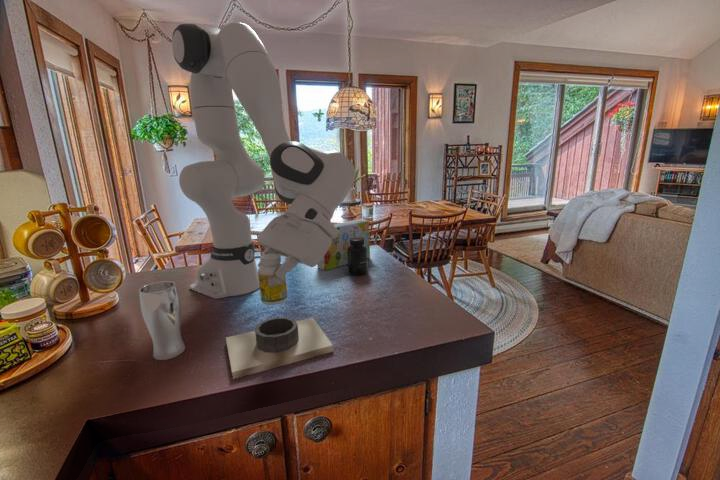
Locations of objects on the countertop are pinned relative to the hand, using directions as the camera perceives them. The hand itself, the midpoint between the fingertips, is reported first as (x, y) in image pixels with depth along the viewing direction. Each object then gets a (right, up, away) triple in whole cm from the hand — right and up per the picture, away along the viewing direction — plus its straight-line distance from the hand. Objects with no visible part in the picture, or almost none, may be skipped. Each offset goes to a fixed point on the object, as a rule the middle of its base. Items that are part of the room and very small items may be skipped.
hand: (269, 272), depth 70 cm
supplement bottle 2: (+18, -5, +49) cm, 52 cm away
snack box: (+13, -2, +60) cm, 61 cm away
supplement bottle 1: (+1, -6, +2) cm, 6 cm away
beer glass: (-22, -18, +4) cm, 29 cm away
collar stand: (+1, -17, +5) cm, 17 cm away
